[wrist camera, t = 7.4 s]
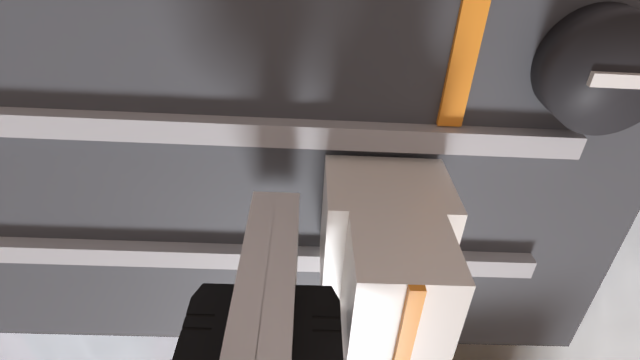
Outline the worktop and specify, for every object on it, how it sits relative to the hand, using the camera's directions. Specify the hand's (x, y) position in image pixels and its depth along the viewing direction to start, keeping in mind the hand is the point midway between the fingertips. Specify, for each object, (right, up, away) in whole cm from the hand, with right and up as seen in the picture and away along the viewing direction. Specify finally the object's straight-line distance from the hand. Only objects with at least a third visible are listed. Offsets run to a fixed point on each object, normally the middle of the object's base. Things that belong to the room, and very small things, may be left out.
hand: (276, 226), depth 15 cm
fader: (+3, +1, +2) cm, 4 cm away
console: (0, +2, +3) cm, 4 cm away
